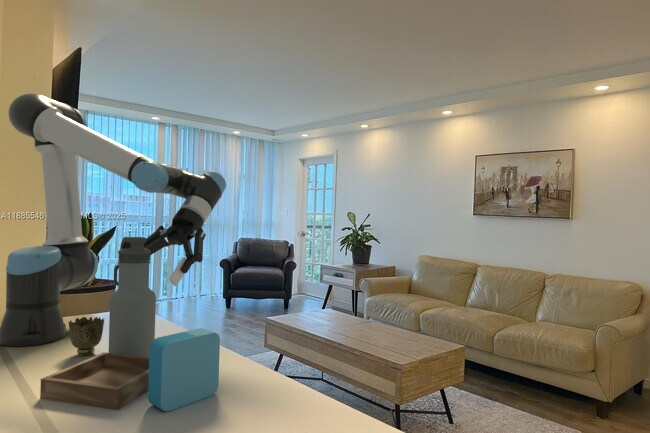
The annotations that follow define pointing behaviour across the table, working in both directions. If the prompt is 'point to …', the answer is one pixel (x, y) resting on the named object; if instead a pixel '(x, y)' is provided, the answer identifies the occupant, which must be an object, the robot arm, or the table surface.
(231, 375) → the table surface
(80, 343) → the cup
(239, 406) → the table surface
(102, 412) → the table surface
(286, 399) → the table surface
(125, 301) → the water bottle
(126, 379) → the walnut tray
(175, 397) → the data package
